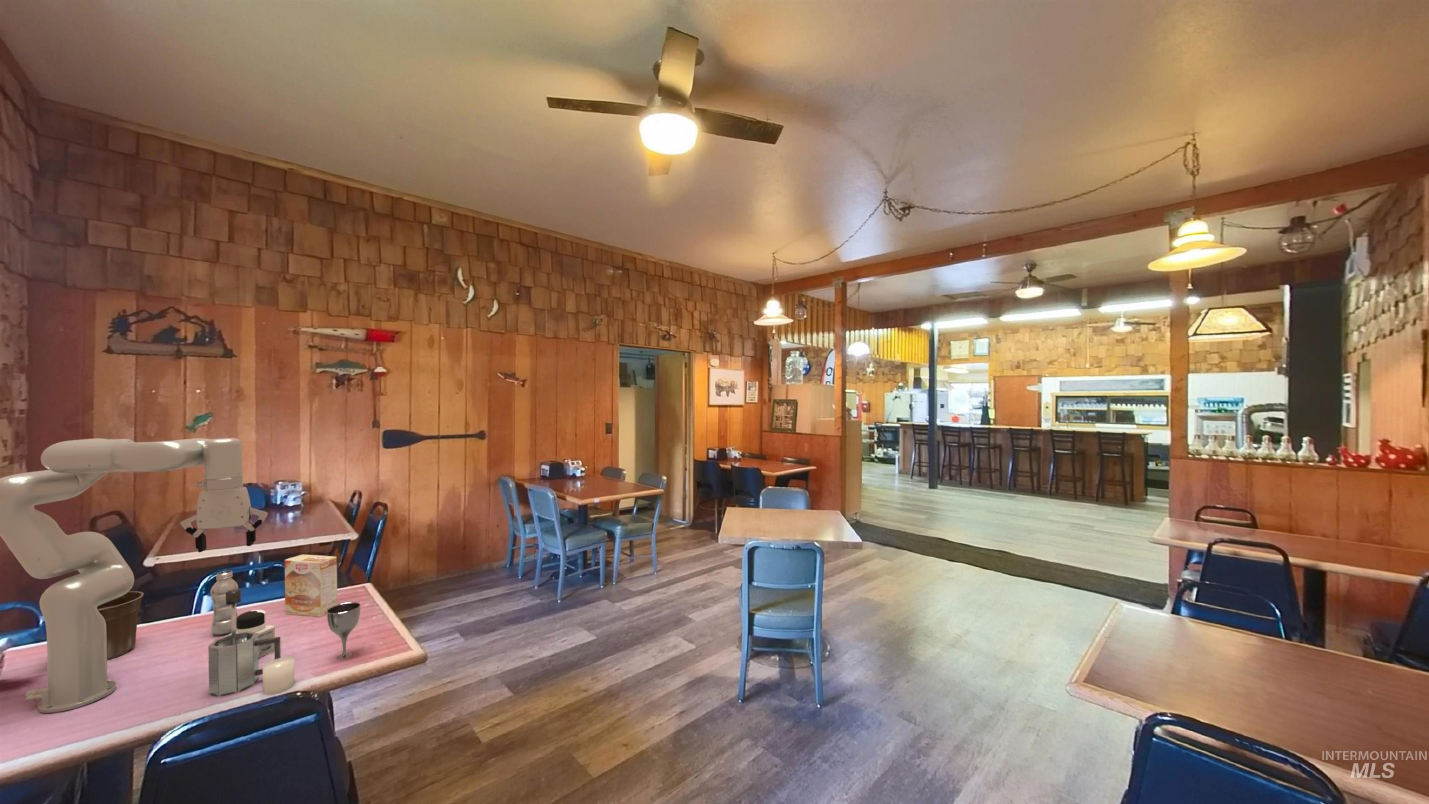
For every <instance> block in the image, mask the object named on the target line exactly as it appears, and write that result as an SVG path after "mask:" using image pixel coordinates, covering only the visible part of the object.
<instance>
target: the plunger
mask: <svg viewBox="0 0 1429 804" xmlns="http://www.w3.org/2000/svg"><path fill="white" fill-rule="evenodd" d="M241 601H242V588H238V589H233V590H229V591H227V592H226V604H227V605H230V604H231V627H232V632H231V633H232V645H236V631H237V629H236V608H237V604H239V603H240V602H241Z"/></svg>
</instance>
